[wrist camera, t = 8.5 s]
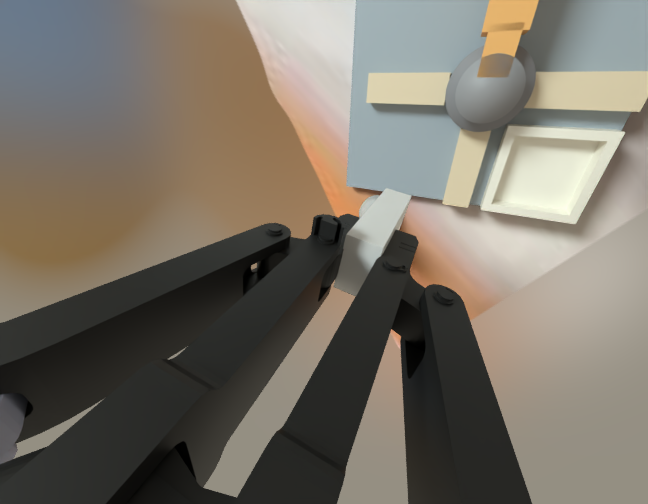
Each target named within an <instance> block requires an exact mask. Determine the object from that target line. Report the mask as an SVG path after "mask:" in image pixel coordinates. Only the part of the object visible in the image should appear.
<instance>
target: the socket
mask: <svg viewBox="0 0 648 504" xmlns="http://www.w3.org/2000/svg"><path fill="white" fill-rule="evenodd" d="M624 134H625V132H624V131H620V130H617V129H598V128H579V127H559V126H540V125H520V124H506V127H505V130H504V133H503V136H502V139H501V142H500V146H499V149H498V152H497V155H496V158H495V161H494V164H493V167H492V170H491V173H490V176H489V179H488V182H487V185H486V189H485V192H484V195H483V198H482V201H481V204H480V208H481V210H484V211H491V212H497V213H504V214H511V215H517V216H524V217H530V218H537V219H543V220H550V221H557V222H563V223H570V224H576V222H577V221H578V219H579V217H580V215H581V213H582V211H583V210H584V208H585V206H586V204H587V202H588V200H589V198H590V197H591V195H592V193H593V191H594V189H595V187H596V186H597V184H598V182H599V180H600V178H601V176H602V174H603V173H604V171H605V169H606V167H607V165H608V163H609V162H610V160H611V158H612V156H613V154H614V152H615V150H616V149H617V147H618V145H619V143H620V141H621V139H622V138H623V136H624Z"/></svg>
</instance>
